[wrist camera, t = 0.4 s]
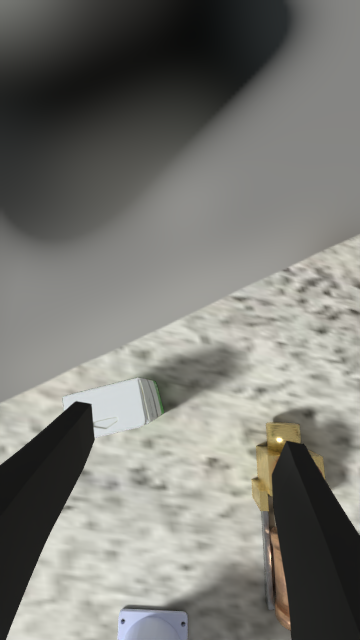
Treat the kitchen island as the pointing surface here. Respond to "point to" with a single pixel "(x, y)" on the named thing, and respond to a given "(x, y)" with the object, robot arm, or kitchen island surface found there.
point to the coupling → (280, 584)
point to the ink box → (120, 405)
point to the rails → (267, 560)
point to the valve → (275, 459)
